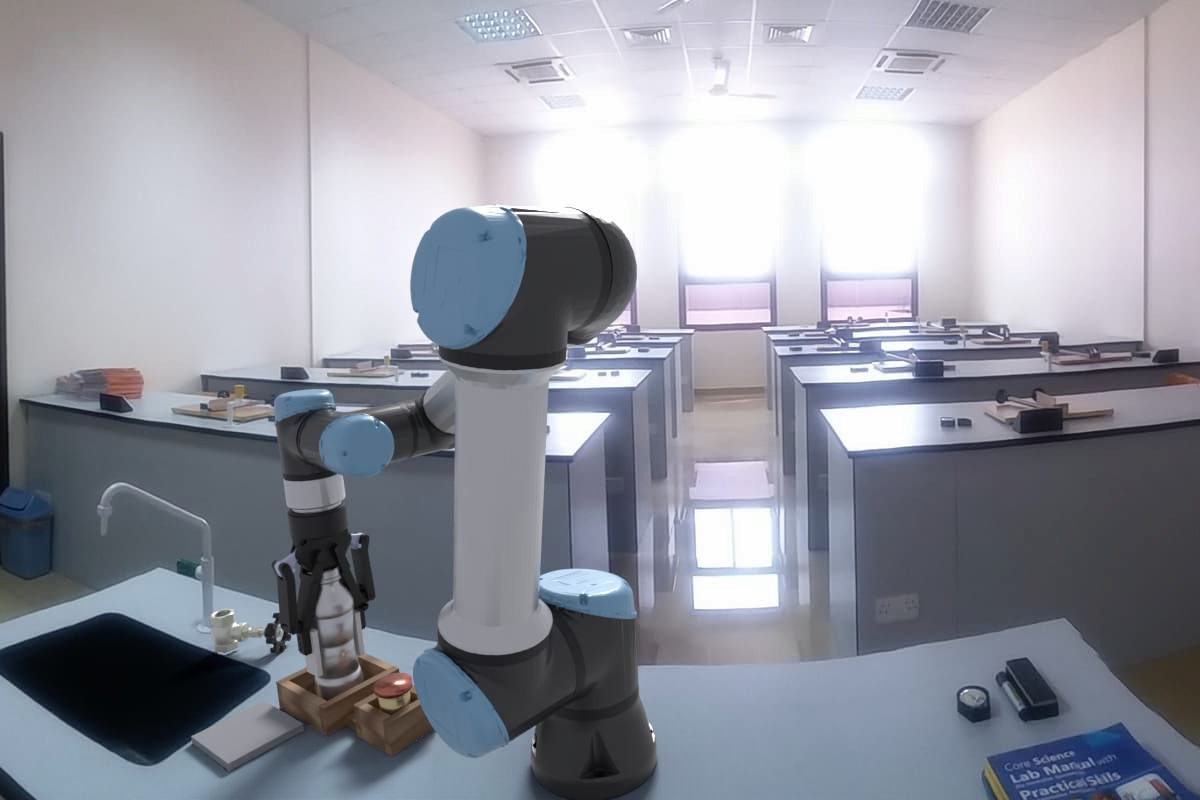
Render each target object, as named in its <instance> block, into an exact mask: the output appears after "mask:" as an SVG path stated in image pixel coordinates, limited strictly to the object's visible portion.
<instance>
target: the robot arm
mask: <svg viewBox="0 0 1200 800" xmlns="http://www.w3.org/2000/svg"><path fill="white" fill-rule="evenodd" d="M637 278H638V264H637V260H636V255H635V251H634V248H633V246H632V245H631V242H630V240H629V238H628V237H627V236H626V234H625V232H624V231H623V230H622V229H621V228H620V226H618V225H617V223H615V222H614V221H613V220H612V219H610V218H608V217H606V215H603V214H602V213H600V212H597V211H595V210H593V209H588V208H585V207H578V206H577V207H575V206H566V207H551V206H550V207H548V206H546V207H544V206H542V207H541V206H519V205H516V206H515V205H514V206H513V205H502V204H501V205H500V204H497V203H496V204H492V205H490V204H489V205H488V204H484V205H480V206H479V205H478V206H467V207H458V208H454V209H451V210H448V211H447V212H445V213H443V214H442V215H440V216H439V217H437V218H436V219H435V220H434V221H432V224H431V226H430V227H429V229H428V230H427V231H425V232H424V233H423V235H422V237H421V239H420V241H419V243H418V246H417V248H416V250H415V254H414V256H413V260H412V265H411V271H410V279H409V280H410V282H409V283H410V284H409V290H410V291H409V292H410V301H411V306H412V310H413V312H415V313H416V314H418V316H417V318H416V322H417V324H418V327H419V328H420V330H421V331H422V333H423V334H424V335H425V337H426V338H427V339H428V340H430V341H431V342H432V343H434V344H435V345H437V346H438V359H439V361H440V362H441V363H442V364H444V365H445V366H446V367H447V370H446V371H445V372H444V373H443V374H442V375H441V376H440V377H439V378H438V379H437V380H436V381H435V382H433V384H432V385H431V386H430V387H428V388H427V389H426V390H425V391H424V392H423V393H422V394H421V395H420V396H418V397H416V398H413V399H408V400H407V399H406V400H403V401H399V402H393V403H390V404H389V403H388V404H384V405H378V406H373V407H368V408H362V409H358V410H351V411H340V410H339V411H337V405H336V403H335V399H334V395H333V394H332V392H331V391H330V390H329V389H324V388H313V389H311V388H310V389H300V390H296V391H295V390H293V391H288V392H285V393H281V394H279V395H278V396H277V397H276V398H275V399H274V402H273V405H274V406H273V407H274V421H273V422H274V424H273V425H274V427H275V429H276V437H277V446H278V450H279V451H278V452H279V457H280V458H279V459H280V466H281V471H282V479H283V480H282V481H283V486H284V487H283V488H284V496H285V503H286V506H287V507H288V508H289V509H288V511H287V518H288V519H287V520H288V529H289V533H290V537H291V540H292V541H291V543H292V545H291V548H290V553H289V554H288V555H287V556H286V557H284V558H282V559H281V560H279V559H275V560H273V561H272V563H271V569H272V570H273V572H274V575H275V576H276V582H277V583H276V585H277V597H278V611H279V612H278V613H279V614H280V624H279V627H281V629H282V630H283V631H286V632H288V633H289V634H291V636H294V635H296V640H297V647H298V648H297V650H298V651H299V653H300V654H302V655H303V656H304V657H305V663H306V664H305V665H306V666H305V668H306V667H307V672H309V673H311V674H313V675H315V676H317V677H320V676H322V675H323V671H322V663H321V655H320V647H319V639H318V632H317V630H315V629H313V628H312V622H313V615H314V609H315V602H316V596H317V589H318V583H319V582H320V581H321V577H322V571H327V570H329V569H334V568H336V567H337V566H338V565H339V567H340V573H341V579H340V582H341V583H342V584H344V585H345V586H346V587H347V589H348V590H349V591H350V592H351V594H352V596H353V598H354V615H353V629H354V644H355V648H356V653H357V655H358V656H362V655H364V654H365V653H366V652H365V644H364V637H363V630H365V629H366V626H367V624H366V614H365V613H366V612H365V611H367V610H368V609H369V605H370V604H369V602H370V601H374V600H375V599H376V595H377V594H376V589H375V584H374V576H373V572H372V567H371V561H370V555H369V545H370V536H369V534H365V533H362V532H359V531H355V532H354V533H351V532H350V531H349V529H348V527H349V517H348V509H347V502H345V501H344V500H345V498H346V489H345V488H346V487H345V481H344V477H348V478H357V479H358V478H359V479H365V478H371V477H373V476H376V475H378V474H379V473H381V472H382V471H383V470H384V469H386V467H387V466H388V465H389V464H392V463H396V462H400V461H404V460H407V459H410V458H415V457H419V456H423V455H429V454H432V453H436V452H440V451H443V450H444V451H446V450H452V449H454V481H453V482H454V484H453V485H454V487H453V488H454V490H453V491H454V492H453V494H454V495H453V496H454V497H453V498H454V499H453V576H452V577H453V586H452V587H453V588H452V589H453V591H452V595H453V596H452V597H453V598H452V599H451V600H450V601H449V602H448V603H446V604H444V606H443V607H442V608H441V609H440V612H439V614H438V618H437V642H436V646H434V647H432V648H425V649H424V651H423V653H421V654H420V655H419V656H417V658H416V659H415V661H414V663H413V669H412V681H413V685H414V686H415V690H416V694H417V697H418V700H419V702H420V705H421V707H422V709H423V711H424V713H425V715H426V717H427V718H428V720H429V722H430V724H431V726H432V727H433V729H434V730H433V731H435V733H436V734H437V735H438V737H439V738H440V739H441V740H442V741H443V742H444V743H445V744H446V745H447V746H448V747H449V748H450V749H451V750H452V751H453V752H455V753H456V754H459V755H460V756H463V757H465V758H470V759H477V758H482V757H484V756H486V755H488V754H491V752H494V751H496V750H499V749H500V748H505V747H506V746H508V745H509V743H510V742H512V741H514V740H515V739H517V738H518V737H520V736H522V735H523V734H525V733H526V732H528V731H529V730H530V729H533V728H534V727H535V728H534V733H533V736H532V739H531V742H530V743H531V744H530V759H531V769H532V773H533V776H534V777H535V778H536V781H537V782H539V784H540V785H541V786H542V787H544V788H545V789H546V790H548V791H550V792H552V793H553V794H555V795H557V796H561V797H563V798H568V799H572V800H607V799H612V798H615V797H618V796H621V795H624V794H627V793H629V792H630V791H633V790H635V789H636V788H638V787H639V786H641V785H642V784H643V783H645V781H647V780H648V778H649V777H650V776H651V775H652V773H653V772H654V770H655V767H656V765H657V761H658V754H657V751H658V749H657V737H656V734H655V731H654V729H653V726H652V724H651V723H650V722H649V720H648V717H647V713H646V711H645V707H644V705H643V702H642V699H641V697H640V690H639V689H640V686H639V659H638V639H637V638H638V637H637V636H638V635H637V618H638V617H637V615H638V613H637V611H636V609H635V601H634V600H635V599H634V592H633V589H632V586H631V585H630V584H629V582H627V581H626V580H625V579H624V578H622V577H620V576H619V575H616V574H615V573H612V572H611V573H610V572H607V571H605V570H600V569H592V568H565V569H564V568H563V569H556V570H552V571H549V572H548V571H547V572H546V573H543V574H541V560H542V559H541V558H542V557H541V556H542V539H543V538H542V536H543V535H542V534H543V518H544V517H543V513H544V494H545V493H544V491H545V472H546V471H545V470H546V454H547V453H546V449H547V448H546V447H547V430H548V428H547V427H548V407H549V406H548V405H549V386H550V385H549V383H550V378H551V377H552V376H553V375H554V374H556V372H558V371H559V370H560V369H561V368H562V367H563V366H565V364H567V363H566V362H567V351H568V350H567V349H568V348H569V347H580V346H585V345H587V344H588V343H590V342H591V341H592V340H593V339H595V338H596V337H598V335H600V334H602V333H603V332H604V331H605V330H606V329H608V327H610V326H611V324H613V323H614V322H615V321H617V320H618V318H619V317H621V315H622V314H623V313H624V311H625V310H626V309H627V307H628V305H629V304H630V302H631V300H632V299H633V295H634V293H635V289H636V285H637V284H636V283H637ZM349 547H350V552H351V558H352V565H353V570H354V575H353V573H352V570H351V569H350V568H351V565H350V562H349V560H348V559H347V558H348V557H347V556H346V554H347V552H348V549H349ZM296 563H297V564H298V565H299V566H300V568H299V576H298V577H299V579H300V581H299V589H298V593H297V586H296V578H295V575H294V573H296V571H297V570H296V567H295V566H296ZM354 576H355V578H354ZM297 594H298V595H297Z"/></svg>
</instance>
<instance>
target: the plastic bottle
mask: <svg viewBox="0 0 1200 800" xmlns="http://www.w3.org/2000/svg"><path fill="white" fill-rule="evenodd" d="M340 579H341V573H340V567H339V565H338V566H337V567H336V568H334V569H329V570H327V571H322V577H321V581H320V582H319V583H318V589H317V596H316V602H315V609H314V615H313V622H312V628H313V629H315V630H317V632H318V639H319V647H320V655H321V663H322V671H323V675H322V676H320V677H317V676H315V681H314V690H315V693H316V696H318V697H320V698H322V699H324V700H325V701H328V700H330V699H332V698H334V697H336V696H338V695H340V694H342V693H344V692H345V691H347V690H349V689H351V688H353V687H355V686H357V685H359V684H361V683H363V682H364V677H363V674H362V670H361V667H360V665H359V662H358V657H357V653H356V648H355V644H354V629H353V615H354V598H353V596H352V594H351V592H350V591H349V590H348V589H347V587H346V586H345V585H344V584H342V583H341V582H340Z"/></svg>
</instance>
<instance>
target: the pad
mask: <svg viewBox="0 0 1200 800" xmlns="http://www.w3.org/2000/svg"><path fill="white" fill-rule="evenodd" d="M304 730H305V729H304V722H302V721H300V720H299V719H297V718H295V717H294V716H292V715H290V714H289V713H287V712H285V711H284V710H283V711H282V709H279V708H278V707H276V706H274V705H273V704H271V703H270V702H267V701H266V700H261V701H260V702H258V703H257V704H254V705H252V706H250V707H248V708H246V709H243V710H242V711H240V712H238V713H236V714H234V715H231V716H230V717H228V718H226V719H223V720H221V721H220V722H218V723H215V724H213V725H212V726H209V727H207V728H206V729H204V730H201V731H200V732H197V733H195V734H193V735H191V737H190V738H191V744H192V745H194V746H196V747H197V748H198V749H199V750H200V751H202V752H203V753H204V754H206V756H208V757H210V758H211V759H213V760H214V761H215V762H217V764H219V765H220V766H222V767H223V768H225V770H227V771H229V772H231V771H232V770H234V769H235V768H237V767H239V766H241V765H243V764H245V763H247V762H249V761H250V760H252V759H254V758H256V757H258V756H259V755H261V754H263V753H265V752H267V751H269V750H270V749H272V748H274V747H276V746H277V745H279V744H282V743H283V742H285V741H287V740H289V739H291V738H293V737H294V736H296V735H298V734H300V733H301V732H303V731H304Z"/></svg>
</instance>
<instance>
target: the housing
mask: <svg viewBox="0 0 1200 800" xmlns="http://www.w3.org/2000/svg"><path fill="white" fill-rule="evenodd" d="M357 657H358V662H359V665H360V667H361V670H362V674H363V677H364V682H363V683H361V684H359V685H357V686H355V687H353V688H351V689H349V690H347V691H345V692H344V693H342V694H340V695H338V696H336V697H334V698H332V699H330V700H328V701H325V700H324V699H322V698H320V697H318V696H316V695H315V694H316V693H315V690H314V681H315V675H313V674H311V673H309V672H307V667H306V666H305V667H304V668H302V669H300V670H298V671H295V672H294V673H291V674H290V675H287V676H285V677H283V678H281V679H278V680H277V681H275V683H276V684H275V685H276V691H277V697H278V704H279V708H280V710H281V711H282V710H283V712H285V713H286V714H288V715H290V716H291V717H293V718H295V719H296V720H298V721H300V722H302V723H303V724H304V723H305V724H306V725H308V726H309V725H310V726H309V727H311V728H312V729H314V730H316V731H318V732H319V731H320V733H321V734H323V735H324V736H326V737H329V736H331V735H332V734H334V733H337V732H338V731H340V730H341V729H343V728H344V727H349V728H351V729H353V730H354V731H356V737H357V738H360V739H361V740H363V741H365V742H366V743H368V744H370V745H372V746H374V747H375V748H377V749H379V750H380V749H381V750H380V751H382V750H383V751H382V752H384V753H385V754H388V755H389V756H391V757H393V755H394V756H395V755H397V754H398V753H400V752H401V751H403V750H405V749H406V748H408V747H409V746H410V744H411V743H412V744H414V743H416V742H417V741H418V739H419V740H420V739H422V738H423V737H425V736H426V734H427V733H428V734H430V733H431V732H432V730H433V731H435V730H434V729H433V727H432V726H431V724H430V722H429V720H428V718H427V717H426V715H425V713H424V711H423V709H422V707H421V705H420V702H419V700H418V697H417V694H416V690H415V686H414V684H412V688H411V689H410V697H411V704H409V705H408V706H406V707H404V708H403V709H401V710H399V711H397V712H396V713H394V714H392V715H389V714H387V713H385V712H383V711H381V710H380V709H379V701H378V697H377V696H376V695H375V693H374V683H375V682H376V681H377V680H378V679H379V678H381V677H383V676H385V675H388V674H392V673H400V668H399V667H397V666H396V665H392V664H391V663H388V662H386V661H385V660H381V659H379V658H377V657H375V656H373V655H371V654H369V653H366V652H365V654H364V655H362V656H358V655H357ZM429 732H430V733H429ZM428 734H427V735H428ZM424 735H425V736H424ZM422 736H423V737H422ZM421 737H422V738H421ZM416 740H417V741H416ZM415 741H416V742H415ZM413 742H414V743H413ZM412 744H411V745H412ZM408 745H409V746H408ZM407 746H408V747H407ZM405 747H406V748H405ZM404 748H405V749H404ZM402 749H403V750H402ZM399 751H400V752H399ZM396 753H397V754H396Z"/></svg>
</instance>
